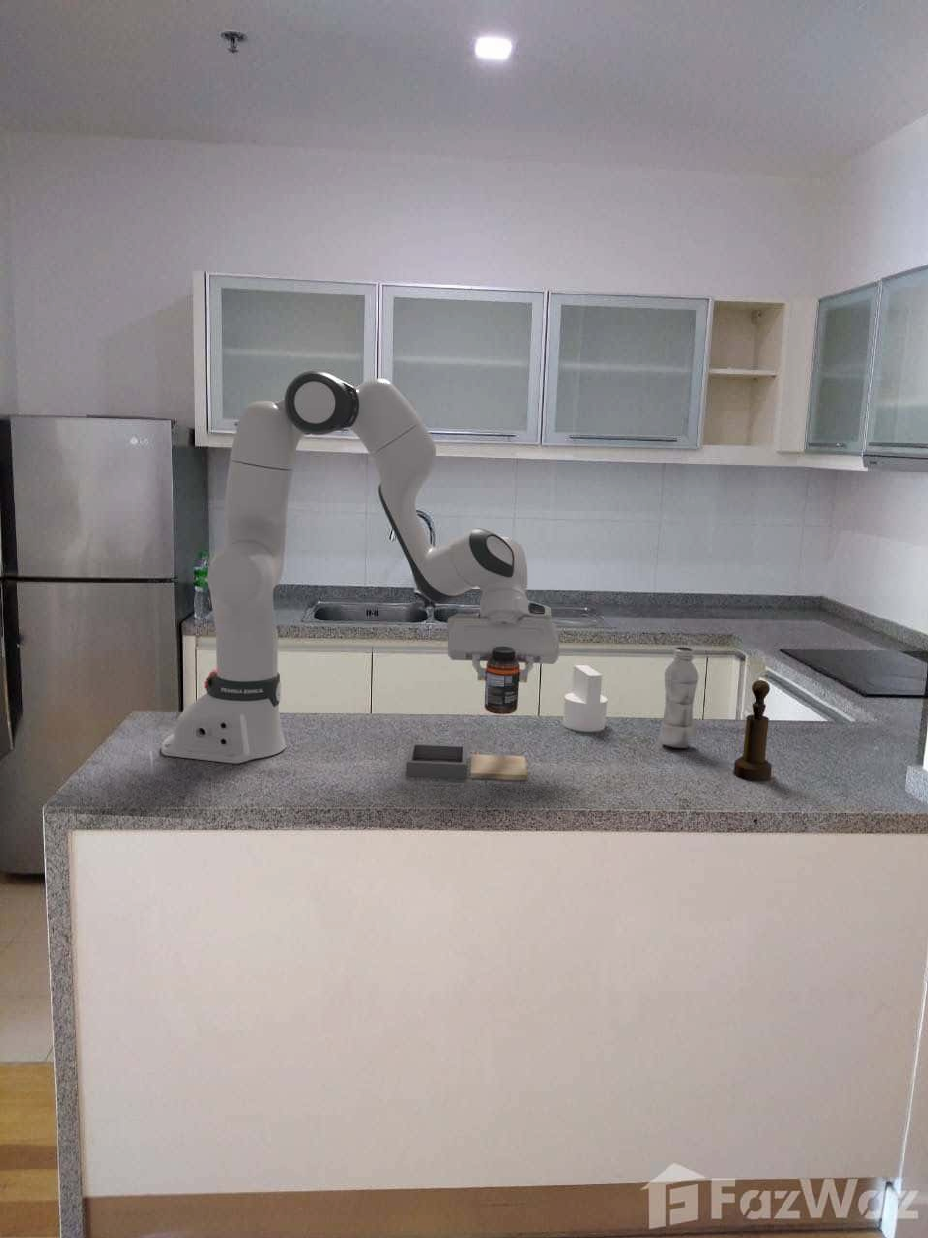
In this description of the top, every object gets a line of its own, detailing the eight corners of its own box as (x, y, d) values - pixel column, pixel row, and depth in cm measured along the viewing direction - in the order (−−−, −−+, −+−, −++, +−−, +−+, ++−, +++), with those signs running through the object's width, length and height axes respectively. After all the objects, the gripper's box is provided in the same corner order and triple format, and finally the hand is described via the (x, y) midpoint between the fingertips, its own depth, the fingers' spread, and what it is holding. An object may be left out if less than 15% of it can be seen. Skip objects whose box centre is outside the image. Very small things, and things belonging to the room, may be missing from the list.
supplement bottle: (497, 703, 176) (501, 643, 173) (523, 710, 172) (527, 649, 170) (477, 709, 171) (480, 648, 169) (503, 717, 167) (507, 654, 165)
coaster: (470, 778, 169) (470, 772, 168) (470, 759, 178) (470, 754, 178) (526, 780, 169) (527, 775, 168) (524, 761, 178) (524, 756, 178)
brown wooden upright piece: (759, 768, 180) (769, 676, 177) (777, 780, 174) (788, 685, 170) (727, 769, 179) (736, 676, 175) (744, 782, 172) (754, 685, 169)
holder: (406, 775, 168) (406, 762, 168) (410, 755, 179) (410, 743, 178) (466, 778, 168) (466, 765, 168) (466, 758, 179) (467, 745, 178)
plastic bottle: (687, 754, 187) (696, 654, 183) (654, 747, 190) (662, 649, 186) (697, 745, 192) (705, 648, 188) (664, 739, 195) (672, 643, 192)
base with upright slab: (612, 730, 200) (616, 675, 198) (571, 732, 198) (575, 676, 195) (595, 718, 208) (599, 664, 206) (556, 719, 206) (560, 665, 204)
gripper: (447, 603, 175) (444, 668, 167) (559, 608, 175) (560, 673, 167) (447, 622, 180) (444, 686, 172) (556, 627, 180) (557, 691, 172)
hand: (502, 679), depth 170 cm, fingers closed on supplement bottle, 6 cm apart
